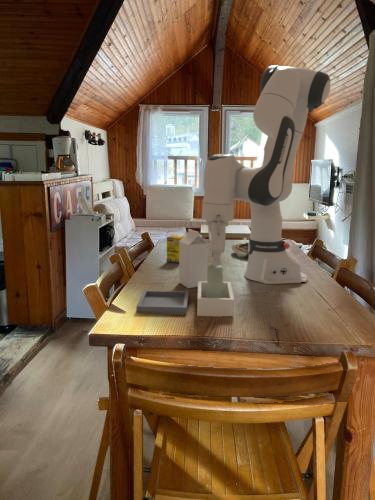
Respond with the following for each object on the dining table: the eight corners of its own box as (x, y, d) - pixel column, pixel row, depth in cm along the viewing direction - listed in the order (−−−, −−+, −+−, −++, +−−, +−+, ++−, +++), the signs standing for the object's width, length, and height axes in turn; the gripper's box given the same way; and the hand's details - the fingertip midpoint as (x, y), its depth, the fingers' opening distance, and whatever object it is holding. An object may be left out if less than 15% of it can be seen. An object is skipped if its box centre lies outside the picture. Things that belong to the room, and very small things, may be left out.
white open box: (229, 297, 124) (230, 281, 123) (233, 316, 108) (234, 299, 107) (198, 296, 124) (198, 281, 123) (197, 315, 108) (197, 298, 107)
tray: (188, 297, 123) (188, 291, 123) (186, 314, 110) (186, 307, 109) (144, 296, 124) (143, 290, 123) (136, 313, 110) (136, 306, 110)
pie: (291, 264, 166) (291, 252, 165) (226, 264, 166) (226, 252, 165) (277, 249, 193) (278, 239, 192) (222, 249, 194) (222, 239, 193)
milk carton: (188, 288, 131) (188, 233, 127) (178, 283, 137) (179, 229, 133) (206, 285, 134) (207, 231, 130) (196, 280, 140) (197, 228, 136)
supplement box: (166, 262, 165) (166, 236, 162) (172, 259, 170) (172, 234, 168) (179, 263, 163) (179, 238, 160) (185, 260, 168) (185, 235, 165)
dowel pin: (221, 303, 118) (222, 264, 115) (222, 308, 114) (223, 269, 111) (207, 303, 118) (207, 264, 116) (207, 308, 114) (207, 268, 111)
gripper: (232, 219, 99) (228, 271, 102) (226, 209, 119) (224, 253, 122) (207, 217, 100) (204, 270, 103) (205, 208, 119) (203, 252, 123)
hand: (215, 261), depth 113 cm, fingers open, 8 cm apart
